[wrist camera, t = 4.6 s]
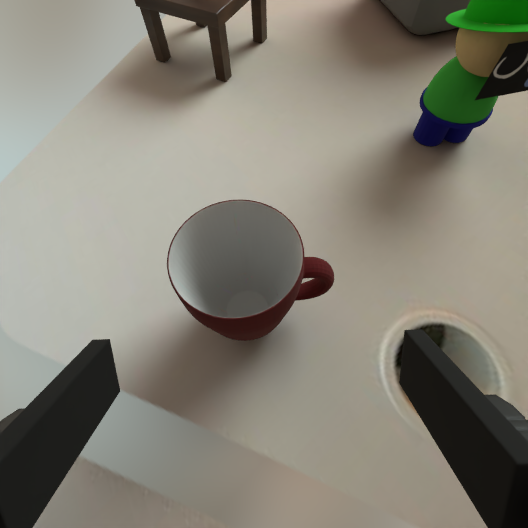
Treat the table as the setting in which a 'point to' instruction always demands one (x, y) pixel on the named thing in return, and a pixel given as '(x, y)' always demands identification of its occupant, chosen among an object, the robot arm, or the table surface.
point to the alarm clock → (425, 14)
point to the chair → (203, 13)
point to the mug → (242, 268)
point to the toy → (476, 70)
